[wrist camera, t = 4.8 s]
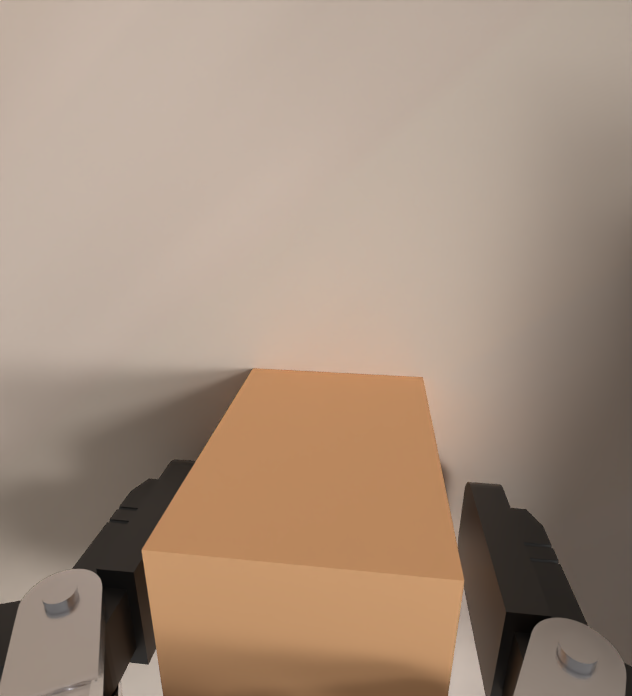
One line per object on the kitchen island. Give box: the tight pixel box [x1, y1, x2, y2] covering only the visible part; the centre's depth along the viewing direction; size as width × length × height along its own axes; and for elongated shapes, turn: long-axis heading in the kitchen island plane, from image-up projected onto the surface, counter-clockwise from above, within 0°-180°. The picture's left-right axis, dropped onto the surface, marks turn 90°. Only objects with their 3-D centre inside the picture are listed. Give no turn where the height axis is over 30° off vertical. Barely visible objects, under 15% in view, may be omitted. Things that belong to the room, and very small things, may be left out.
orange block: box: [142, 368, 464, 696], centre depth 10 cm, size 6×4×6 cm, turn 179°
